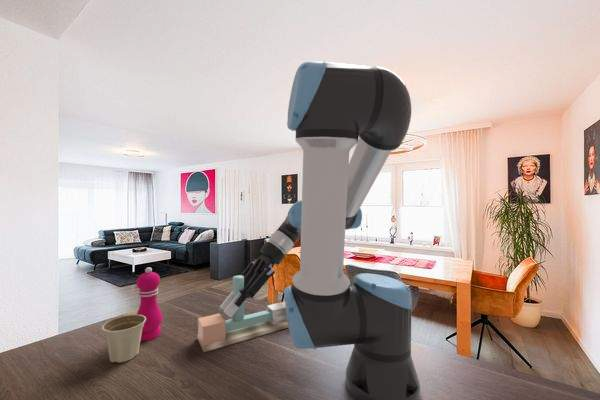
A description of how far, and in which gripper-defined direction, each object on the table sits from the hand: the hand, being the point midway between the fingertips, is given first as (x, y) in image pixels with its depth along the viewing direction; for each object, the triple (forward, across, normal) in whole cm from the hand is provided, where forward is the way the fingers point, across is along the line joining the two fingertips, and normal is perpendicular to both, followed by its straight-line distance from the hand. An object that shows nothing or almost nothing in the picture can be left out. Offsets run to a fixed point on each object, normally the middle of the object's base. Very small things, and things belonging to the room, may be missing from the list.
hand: (225, 311), depth 77 cm
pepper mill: (+19, +13, +8) cm, 24 cm away
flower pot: (+23, +5, +12) cm, 26 cm away
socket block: (+7, 0, -2) cm, 7 cm away
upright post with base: (0, 0, -8) cm, 8 cm away
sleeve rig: (0, 0, -11) cm, 11 cm away
